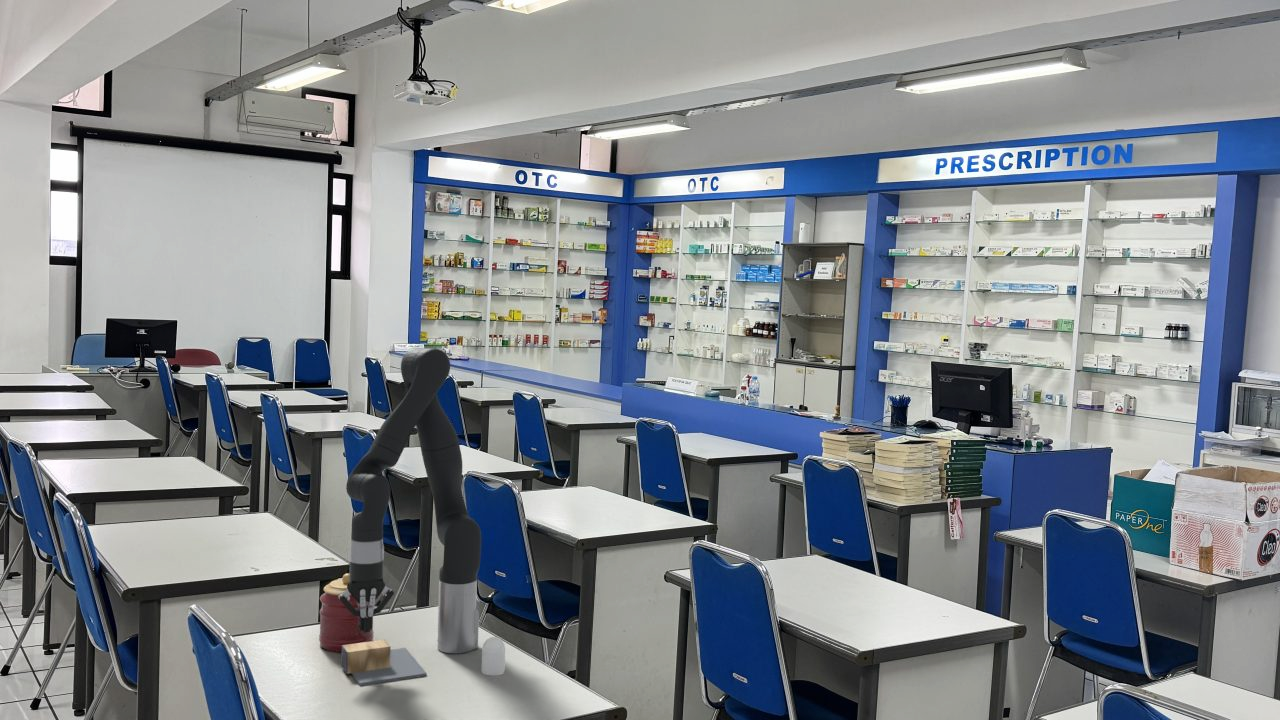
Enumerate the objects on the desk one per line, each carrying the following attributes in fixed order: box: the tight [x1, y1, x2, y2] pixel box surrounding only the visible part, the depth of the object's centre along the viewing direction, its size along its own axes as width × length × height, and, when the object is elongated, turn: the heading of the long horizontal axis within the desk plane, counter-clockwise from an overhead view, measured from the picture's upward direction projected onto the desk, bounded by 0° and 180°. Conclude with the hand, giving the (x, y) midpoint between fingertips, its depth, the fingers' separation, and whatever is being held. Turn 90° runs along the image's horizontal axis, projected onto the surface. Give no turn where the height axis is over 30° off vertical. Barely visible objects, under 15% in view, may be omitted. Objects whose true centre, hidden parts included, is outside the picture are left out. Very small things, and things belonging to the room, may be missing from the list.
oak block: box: [340, 639, 392, 675], centre depth 235 cm, size 5×5×10 cm
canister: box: [318, 572, 374, 653], centre depth 251 cm, size 13×13×18 cm
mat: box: [351, 647, 427, 687], centre depth 237 cm, size 15×18×1 cm
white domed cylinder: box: [481, 636, 506, 676], centre depth 237 cm, size 5×5×8 cm
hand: (365, 631), depth 234 cm, fingers closed
